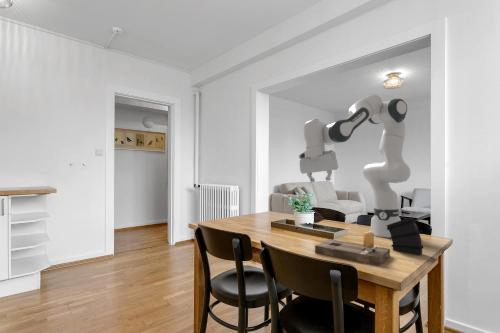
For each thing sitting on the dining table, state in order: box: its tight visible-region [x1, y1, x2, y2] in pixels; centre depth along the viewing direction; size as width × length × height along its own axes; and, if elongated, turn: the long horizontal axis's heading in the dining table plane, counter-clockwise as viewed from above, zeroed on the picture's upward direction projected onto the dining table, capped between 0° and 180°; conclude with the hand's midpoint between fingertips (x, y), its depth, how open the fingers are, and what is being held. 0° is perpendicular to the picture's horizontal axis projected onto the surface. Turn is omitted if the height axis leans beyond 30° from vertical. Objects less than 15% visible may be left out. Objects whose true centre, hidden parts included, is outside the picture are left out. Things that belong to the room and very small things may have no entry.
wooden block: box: [363, 231, 375, 252], centre depth 112 cm, size 4×4×10 cm
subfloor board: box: [314, 238, 391, 266], centre depth 116 cm, size 14×26×3 cm, turn 50°
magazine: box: [387, 216, 424, 256], centre depth 119 cm, size 4×13×15 cm, turn 42°
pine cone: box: [313, 209, 325, 224], centre depth 178 cm, size 18×10×10 cm, turn 51°
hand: (320, 181), depth 134 cm, fingers open, 8 cm apart
